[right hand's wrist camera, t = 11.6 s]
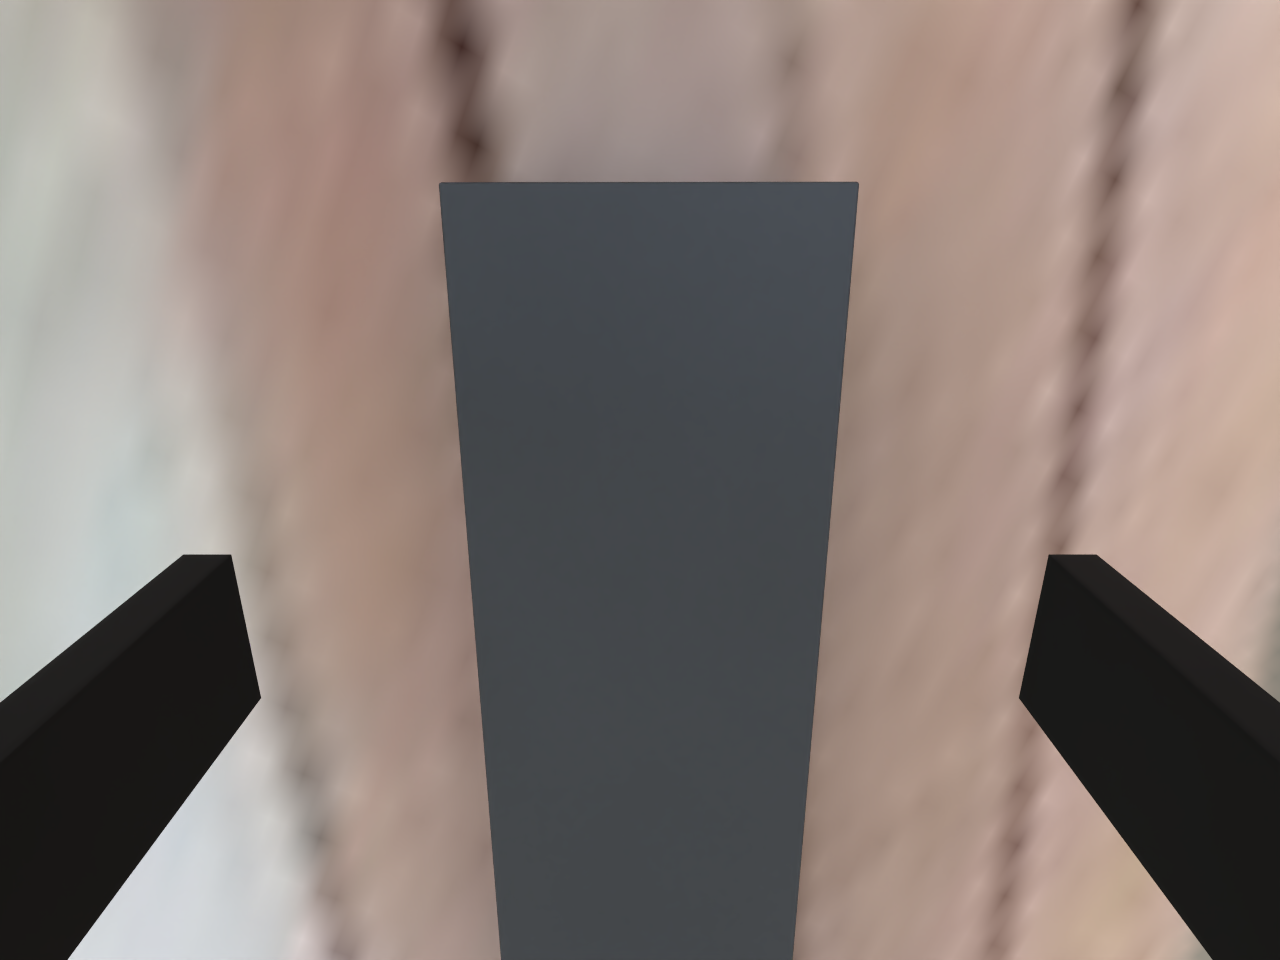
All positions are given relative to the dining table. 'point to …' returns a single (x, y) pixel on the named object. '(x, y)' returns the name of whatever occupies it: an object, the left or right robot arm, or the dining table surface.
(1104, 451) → the dining table surface
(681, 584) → the wide beam
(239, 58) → the dining table surface
